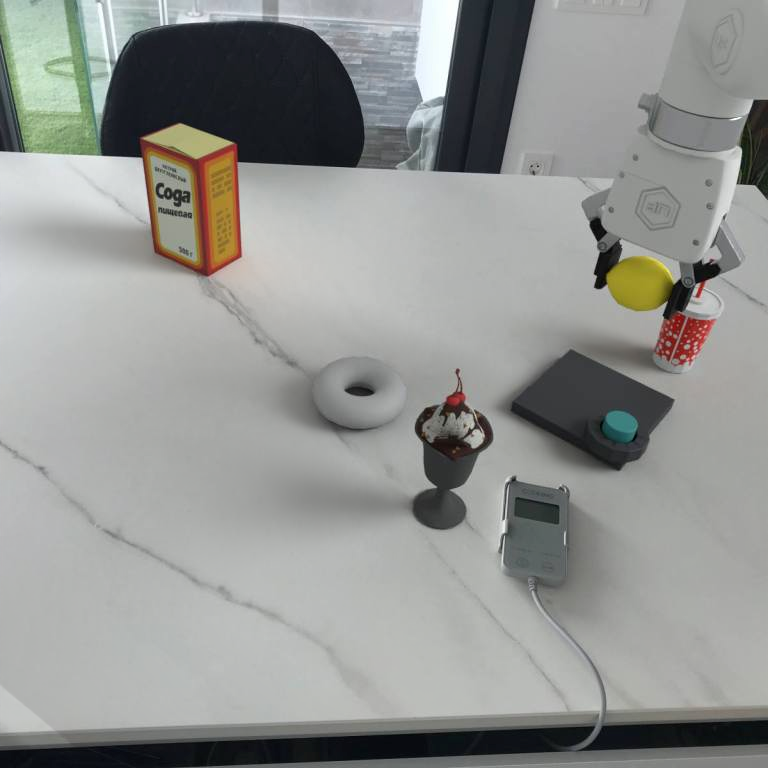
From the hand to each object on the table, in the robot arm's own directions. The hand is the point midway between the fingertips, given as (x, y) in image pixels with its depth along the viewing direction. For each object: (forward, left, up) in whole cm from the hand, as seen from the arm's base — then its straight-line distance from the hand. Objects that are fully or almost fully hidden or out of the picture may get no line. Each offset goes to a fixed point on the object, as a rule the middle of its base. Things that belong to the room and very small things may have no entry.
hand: (636, 297), depth 77 cm
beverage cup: (-3, -13, -14) cm, 19 cm away
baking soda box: (+54, +11, -14) cm, 57 cm away
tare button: (-4, +7, -11) cm, 14 cm away
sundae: (+4, +25, -14) cm, 29 cm away
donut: (+19, +19, -14) cm, 31 cm away
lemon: (0, 0, -1) cm, 1 cm away
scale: (0, +2, -14) cm, 14 cm away
